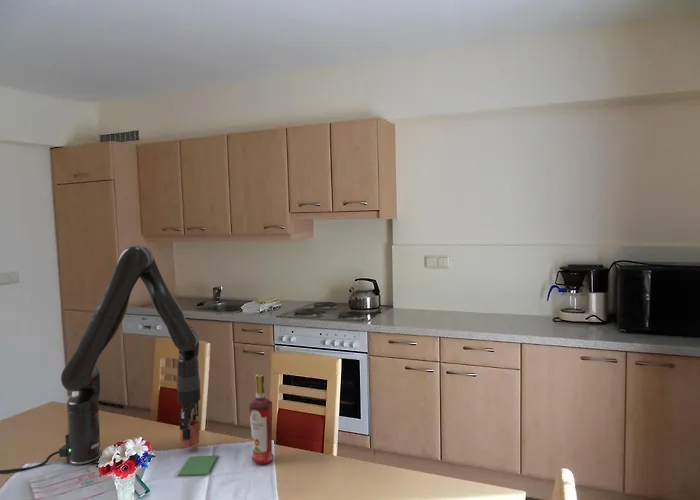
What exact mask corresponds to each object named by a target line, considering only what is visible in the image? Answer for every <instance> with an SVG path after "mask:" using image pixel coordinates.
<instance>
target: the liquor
mask: <svg viewBox="0 0 700 500" xmlns="http://www.w3.org/2000/svg"><path fill="white" fill-rule="evenodd" d="M254 377H255V385H256V386H255V387H256V388H255V399H253V400H252V401H250V403H248V410H249V422H250V431H251V432H250V433H251V443H252V456H251V461H253V462H254V463H255V464H257V465H267V464H269V463H270V462H271V461H272V460H273V458H274V454H273V446H272V445H273V443H272V442H273V440H272V439H273V438H272V436H273V435H272V434H273V402H272V400H270V399H269V398H266V393H265V387H264V386H265V385H264V383H265V375H264V374H261V373H260V374H256V375H255V376H254Z"/></svg>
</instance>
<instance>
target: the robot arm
mask: <svg viewBox="0 0 700 500" xmlns="http://www.w3.org/2000/svg"><path fill="white" fill-rule="evenodd" d="M139 279H140V280H141V281H142V283H143V284H144V287H146V290H147V292H148V294H149V297H150V300H151V303H152V305H153V307H154V309H155V311H156V313H157V315H158V316H159V318H160V320H161V321H162V322H163V324H164V325H165V327H166V329H167V331H168V334H169V336H170V339H171V341H172V343H173V344H174V346H175V347H176V348H177V349H178V357H177V362H176V401H177V403H178V404H181V405H182V408H181V412H179V413H178V421H179V431H180V430H183V440H190V424H191V422H192V420H198V417H199V403H200V402H199V401H200V400H201V379H200V378H201V377H200V365H199V364H200V363H199V351H200V335H199V332H198V331H197V330H196V328H193V327H191V326H189V324H188V322H187V321H186V315H185V313H184V311H183V310H182V308H181V306H180V305H179V303H178V302H177V300H176V298H175V297H174V296H173V294H172V292H171V290H170V289H169V286H168V285H167V283H166V282H165V280H164V277H163V276H162V273H161V271H160V270H159V267H158V264H157V262H156V259H155V257H154V255H153V253H152V251H151V249H149V248H148V247H147V246H145V245H142V244H141V245H140V244H137V245H131V246H128V247H126V248H124V249H123V250H122V251H121V252H120V253H119V256H118V259H117V262H116V265H115V267H114V270H113V273H112V276H111V278H110V280H109V282H108V284H107V286H106V288H105V290H104V291H103V294H102V295H101V296H100V298H99V301H98V302H97V304H96V306H95V308H94V310H93V311H92V314H91V316H90V319H89V321H88V323H87V325H86V327H85V329H84V332H83V334H82V336H81V337H80V341H79V343H78V345H77V347H76V349H75V351H74V353H73V354H72V355H71V357H70V359H69V360H68V362H67V363H66V365H65V367H63V370H62V372H61V375H60V382H61V385H62V387H63V388H64V389H65V390H66V391H68V392H70V394H69V397H68V399H67V401H66V420H67V433H65V437H64V438H65V444H64V445H63V446H62V447H59V448H58V450H57V451H55V452H52V453H51V454H49V455H48V456H47V457H46V459H45V460H44V461H43V462H41V463H38V464H36V465H33V466H28V467H18V468H10V469H0V474H2V473H12V472H20V471H27V470H32V469H36V468H39V467H42V466H44V465H46V464H47V463H48V462H49V460H50V459H51V458H52V457H53V456H55V455H57V454H58V456H59V458H66V464H71V465H73V466H74V465H75V466H79V465H86V464H91V463H92V462H95V461H97V460H99V459H100V458H101V456H102V448H101V431H100V430H101V429H100V413H99V412H100V411H99V410H100V409H99V398H100V395H101V371H100V367H99V364H98V363H97V362H98V359H99V358H100V356H101V355H102V353H103V351H104V350H105V348H107V346H108V345H109V344H110V342H111V341H112V340H113V339H114V336H116V333H117V332H118V331H119V329H120V327H121V325H122V323H123V321H124V319H125V316H126V315H127V311H128V308H129V303H130V299H131V294H132V291H133V289H134V287H135V285H136V284H137V282H138V280H139ZM185 424H186V426H184V425H185ZM99 457H100V458H99Z"/></svg>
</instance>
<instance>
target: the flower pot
mask: <svg viewBox="0 0 700 500" xmlns="http://www.w3.org/2000/svg"><path fill="white" fill-rule="evenodd" d="M184 426H186V424H185V425H184ZM179 437H180V439H179V441H180V444H179V445H180V446H181V447H183V448H191V447H195V446H197V445H199V444H200V440H201V438H200V421H199V420H198V419H197V420H192V422H191V424H190V440H183V430H180V429H179Z"/></svg>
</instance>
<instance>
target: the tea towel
mask: <svg viewBox="0 0 700 500" xmlns="http://www.w3.org/2000/svg"><path fill="white" fill-rule="evenodd" d="M218 458H219V456H218V455H191V456H189V457H188V459H187V461H186V462H185V463H184V465H183V466H182V468H181V469H180V470H179V472H178V474H177V476H178V477H191V476H193V477H194V476H209V473H210V472H211V470H212V468H213V467H214V465H215V463H216V461H217V459H218Z"/></svg>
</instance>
